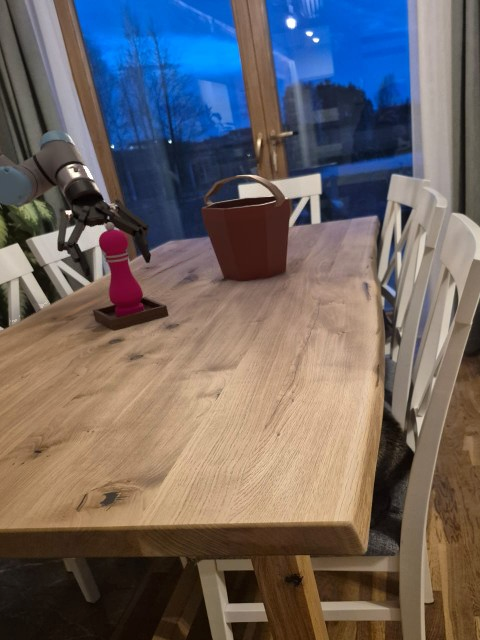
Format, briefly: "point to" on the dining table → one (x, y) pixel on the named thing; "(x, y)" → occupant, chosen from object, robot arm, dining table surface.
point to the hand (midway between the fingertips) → (119, 265)
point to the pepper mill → (120, 273)
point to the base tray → (112, 321)
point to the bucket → (249, 232)
